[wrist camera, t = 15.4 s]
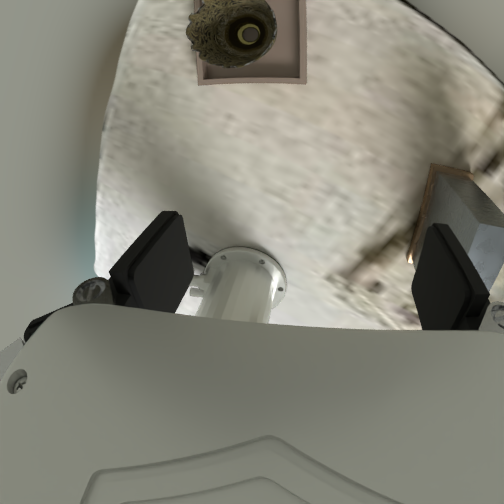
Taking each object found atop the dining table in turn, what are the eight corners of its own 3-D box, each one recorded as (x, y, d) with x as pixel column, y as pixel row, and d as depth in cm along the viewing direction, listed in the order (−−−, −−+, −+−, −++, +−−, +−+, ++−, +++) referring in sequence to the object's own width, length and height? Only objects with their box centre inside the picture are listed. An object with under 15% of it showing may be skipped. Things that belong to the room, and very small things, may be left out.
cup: (255, 79, 28) (235, 85, 21) (203, 42, 26) (169, 39, 20) (301, 31, 23) (295, 20, 17) (245, -8, 22) (223, -26, 15)
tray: (206, 83, 30) (198, 85, 28) (202, -4, 23) (193, -8, 21) (306, 82, 28) (305, 84, 26) (305, -10, 21) (304, -16, 19)
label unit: (406, 258, 38) (426, 330, 27) (431, 163, 29) (477, 217, 19) (442, 262, 37) (469, 331, 26) (471, 172, 28) (523, 227, 18)
